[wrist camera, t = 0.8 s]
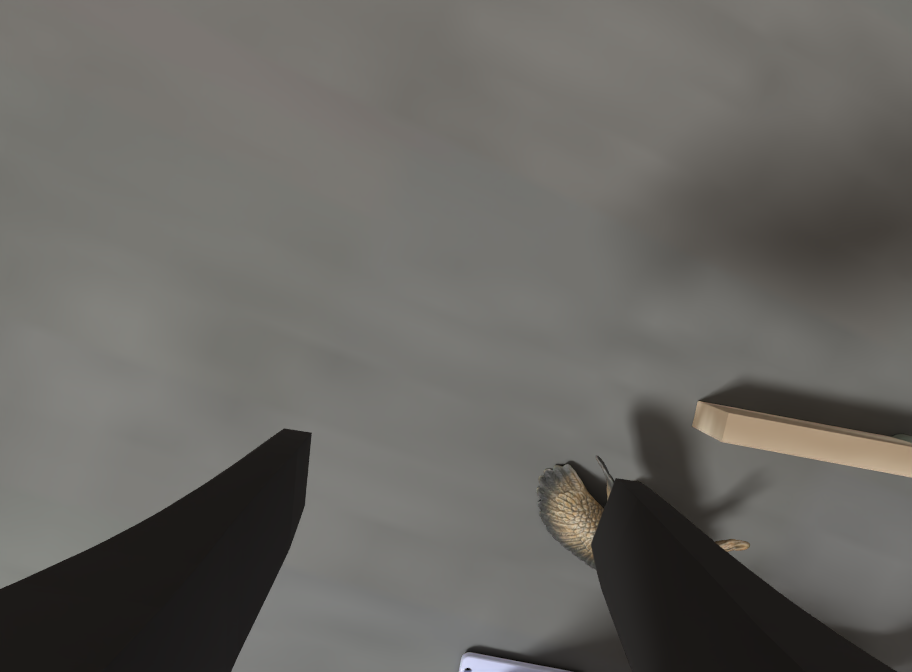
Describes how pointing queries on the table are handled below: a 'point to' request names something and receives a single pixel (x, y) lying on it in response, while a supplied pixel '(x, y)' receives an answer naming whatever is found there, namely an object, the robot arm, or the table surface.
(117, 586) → the robot arm
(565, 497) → the eagle figurine
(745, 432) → the wooden matchsticks
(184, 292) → the table surface
